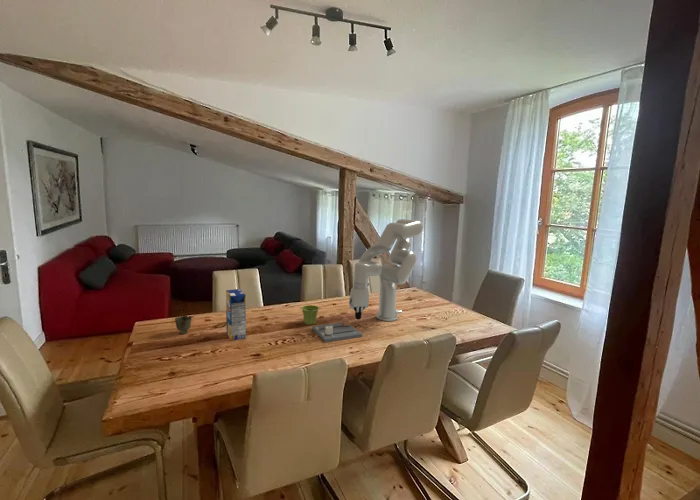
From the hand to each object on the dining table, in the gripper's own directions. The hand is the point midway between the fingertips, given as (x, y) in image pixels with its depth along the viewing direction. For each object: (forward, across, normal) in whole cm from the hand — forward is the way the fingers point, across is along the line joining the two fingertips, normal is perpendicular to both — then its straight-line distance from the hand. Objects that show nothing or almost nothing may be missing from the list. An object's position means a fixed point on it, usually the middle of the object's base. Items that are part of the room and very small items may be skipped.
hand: (358, 318), depth 200 cm
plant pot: (+5, +22, -14) cm, 27 cm away
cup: (+7, +85, -22) cm, 88 cm away
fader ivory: (+3, +20, +8) cm, 22 cm away
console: (+5, +14, +4) cm, 15 cm away
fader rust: (+3, +7, 0) cm, 8 cm away
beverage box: (+7, +62, -10) cm, 63 cm away
